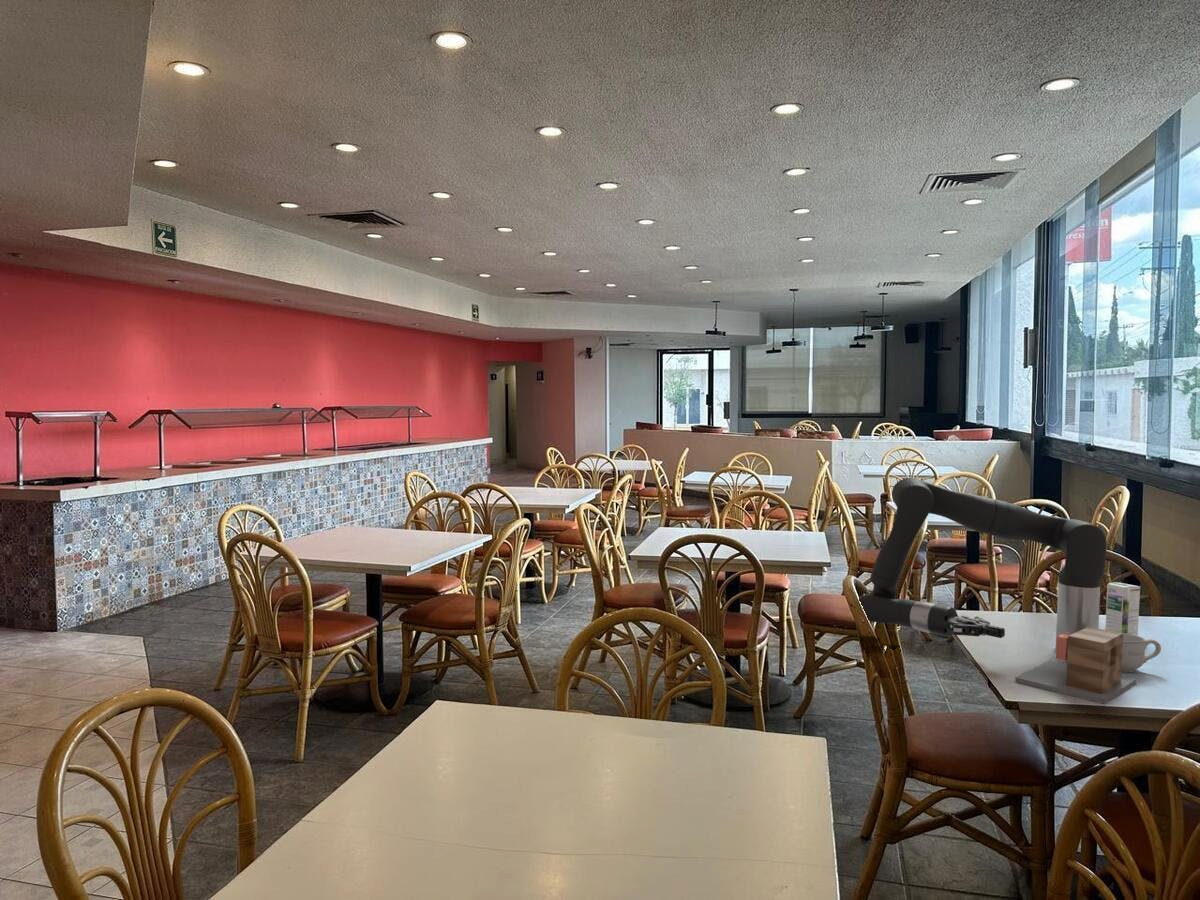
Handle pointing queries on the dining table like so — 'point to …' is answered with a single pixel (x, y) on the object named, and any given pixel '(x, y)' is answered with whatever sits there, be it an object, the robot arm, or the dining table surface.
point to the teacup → (1136, 652)
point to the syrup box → (1122, 608)
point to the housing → (1094, 659)
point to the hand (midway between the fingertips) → (1003, 633)
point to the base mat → (1055, 677)
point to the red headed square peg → (1062, 646)
